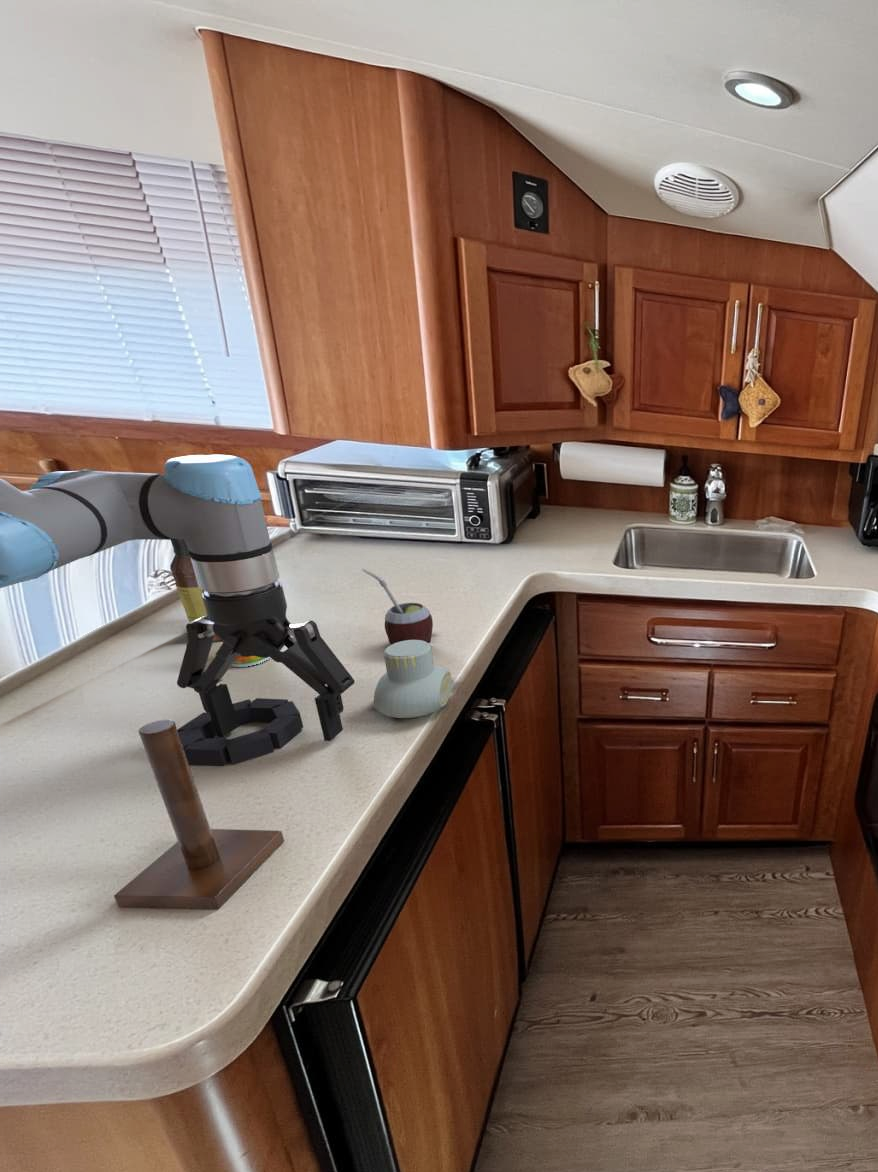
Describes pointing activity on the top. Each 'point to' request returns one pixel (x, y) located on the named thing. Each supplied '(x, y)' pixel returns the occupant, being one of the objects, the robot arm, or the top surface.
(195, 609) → the sauce bottle
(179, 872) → the stand
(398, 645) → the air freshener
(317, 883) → the top surface
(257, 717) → the ring
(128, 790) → the top surface
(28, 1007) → the top surface
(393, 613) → the mate gourd
